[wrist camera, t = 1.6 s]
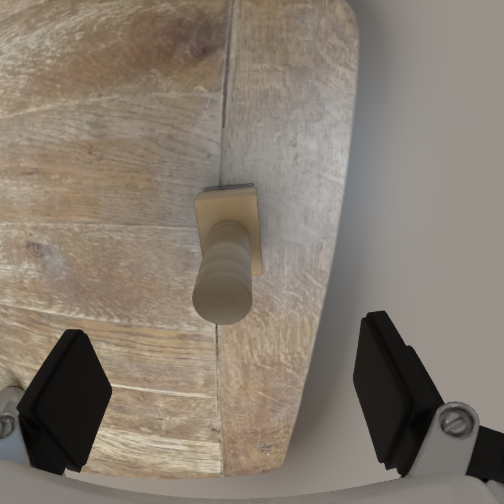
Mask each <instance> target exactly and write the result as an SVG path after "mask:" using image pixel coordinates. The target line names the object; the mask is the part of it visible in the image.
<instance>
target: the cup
mask: <svg viewBox="0 0 504 504" xmlns="http://www.w3.org/2000/svg"><path fill="white" fill-rule="evenodd" d="M25 392H26V391H24V390H22V389H20V388H17V387H9V388H4V389H3V390H1V391H0V412H4V411H11V412H13V413H15V414H16V415H17V416H18V414H19V412H18V410H17V409H16V407H17V405H18V403H19V402H20V400H21V398H22V397H23V395H24V393H25Z"/></svg>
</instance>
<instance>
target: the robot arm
mask: <svg viewBox="0 0 504 504" xmlns="http://www.w3.org/2000/svg"><path fill="white" fill-rule="evenodd" d="M353 382H354V387H355V389H356V392H357V395H358V398H359V402H360V405H361V408H362V411H363V414H364V417H365V420H366V423H367V426H368V429H369V433H370V436H371V439H372V442H373V446H374V449H375V452H376V455H377V459H378V461H379V462H380V463H384V464H385V468H386V470H389V469H393V468H397V472H398V474H400V475H401V476H400V478H399V479H394V480H390V481H385V482H379V483H374V484H369V485H364V486H360V487H354V488H349V489H343V490H336V491H330V492H323V493H315V494H307V495H298V496H288V497H276V498H258V499H204V498H186V497H174V496H164V495H155V494H146V493H139V492H133V491H126V490H121V489H115V488H110V487H105V486H100V485H96V484H91V483H87V482H83V481H79V480H75V479H71V478H67V477H66V475H65V473H64V471H65V468H67V469H68V470H71V471H75V472H79V473H80V471H81V468H82V466H84V465H85V464H86V462H87V460H88V457H89V454H90V451H91V448H92V445H93V443H94V440H95V437H96V434H97V432H98V429H99V426H100V424H101V421H102V418H103V416H104V413H105V411H106V408H107V405H108V403H109V400H110V398H111V395H112V387H111V385H110V383H109V381H108V379H107V377H106V375H105V372H104V370H103V368H102V366H101V364H100V362H99V360H98V358H97V355H96V353H95V351H94V349H93V347H92V344H91V342H90V340H89V337H88V335H87V334H84V332H83V331H82V330H80V329H67V330H66V331H65V332H64V333H63V335H62V336H61V338H60V339H59V341H58V342H57V343H56V345H55V346H54V348H53V349H52V351H51V352H50V354H49V355H48V357H47V358H46V360H45V361H44V363H43V365H42V366H41V368H40V369H39V371H38V372H37V374H36V375H35V377H34V379H33V380H32V382H31V383H30V385H29V387H28V388H27V390H26V392H25V393H24V395H23V397H22V398H21V400H20V402H19V403H18V405H17V407H16V409H17V410H18V412H19V414H18V416H17V415H16V414H15V413H13V412H11V411H4V412H0V504H504V433H501V432H498V431H495V430H492V429H489V428H486V427H483V426H480V425H479V418H478V414H477V413H476V412H475V410H474V409H473V408H472V407H470V406H469V405H467V404H465V403H462V402H456V401H455V402H448V403H446V404H445V403H444V401H443V399H442V397H441V396H440V394H439V392H438V390H437V389H436V387H435V385H434V383H433V381H432V379H431V378H430V376H429V374H428V372H427V371H426V369H425V367H424V365H423V364H422V362H421V361H420V359H419V357H418V355H417V354H416V352H415V350H414V349H413V348H412V347H411V346H409V345H408V346H406V345H405V343H404V341H403V339H402V338H401V336H400V334H399V333H398V331H397V329H396V328H395V326H394V324H393V323H392V321H391V319H390V318H389V316H388V314H387V313H386V312H385V311H376V312H369V313H367V316H366V317H365V318H362V320H361V326H360V334H359V341H358V348H357V355H356V361H355V368H354V373H353Z"/></svg>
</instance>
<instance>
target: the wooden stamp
mask: <svg viewBox="0 0 504 504" xmlns="http://www.w3.org/2000/svg"><path fill="white" fill-rule="evenodd" d="M194 204H195V211H196V217H197V224H198V231H199V238H200V244H201V250H202V257H203V259H202V262H201V266H200V269H199V273H198V276H197V280H196V284H195V287H194V291H193V296H192V300H193V305H194V307H195V309H196V311H197V313H198V314H199V315H200V316H201V317H202V318H204V319H205V320H207V321H209V322H211V323H214V324H219V325H228V324H233V323H236V322H238V321H240V320H241V319H243V318H244V317H245V316H246V315H247V314H248V312H249V311H250V309H251V306H252V277H251V276H253V275H262V274H263V269H262V255H261V242H260V230H259V217H258V204H257V193H256V187H254V184H241V185H230V186H220V187H210V188H204V189H203V191H202V192H200V193H199V194H198V196H197V197H196V199H195V201H194Z"/></svg>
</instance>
